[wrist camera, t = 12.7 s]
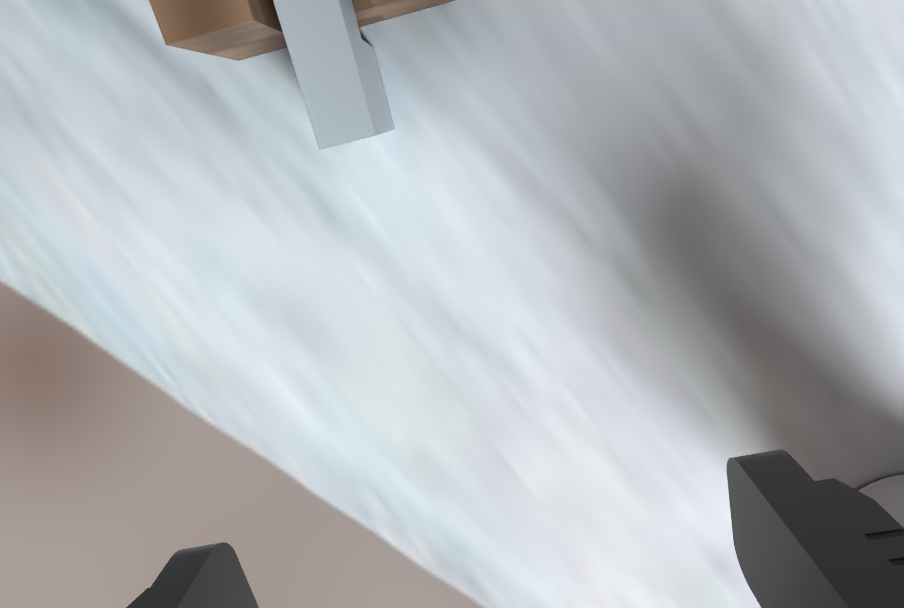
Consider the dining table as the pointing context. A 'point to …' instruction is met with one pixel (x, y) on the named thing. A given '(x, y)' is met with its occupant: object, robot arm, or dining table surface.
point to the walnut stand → (251, 23)
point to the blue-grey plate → (334, 70)
